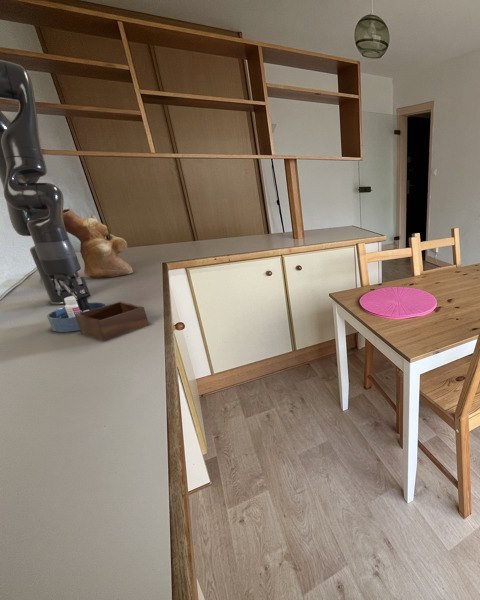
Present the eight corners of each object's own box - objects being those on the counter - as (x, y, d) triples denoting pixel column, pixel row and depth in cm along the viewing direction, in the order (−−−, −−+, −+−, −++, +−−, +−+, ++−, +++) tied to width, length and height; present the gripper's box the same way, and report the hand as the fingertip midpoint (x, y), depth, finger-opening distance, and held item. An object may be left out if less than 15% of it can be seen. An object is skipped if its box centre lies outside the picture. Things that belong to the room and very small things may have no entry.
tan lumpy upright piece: (140, 273, 148) (121, 208, 137) (78, 285, 131) (51, 211, 120) (126, 268, 156) (107, 205, 145) (66, 278, 139) (39, 208, 128)
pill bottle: (79, 326, 95) (69, 300, 92) (67, 324, 96) (57, 299, 93) (96, 320, 100) (87, 295, 97) (84, 318, 100) (75, 294, 97)
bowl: (43, 327, 94) (37, 314, 93) (95, 312, 106) (91, 300, 104) (67, 336, 90) (61, 322, 88) (119, 319, 101) (115, 306, 100)
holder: (81, 333, 92) (74, 314, 90) (126, 318, 102) (120, 301, 100) (105, 340, 88) (98, 321, 86) (149, 324, 98) (144, 307, 96)
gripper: (88, 255, 91) (106, 307, 97) (61, 251, 96) (79, 300, 102) (54, 261, 85) (75, 316, 90) (26, 256, 89) (48, 308, 95)
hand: (77, 307), depth 96 cm, fingers open, 8 cm apart
